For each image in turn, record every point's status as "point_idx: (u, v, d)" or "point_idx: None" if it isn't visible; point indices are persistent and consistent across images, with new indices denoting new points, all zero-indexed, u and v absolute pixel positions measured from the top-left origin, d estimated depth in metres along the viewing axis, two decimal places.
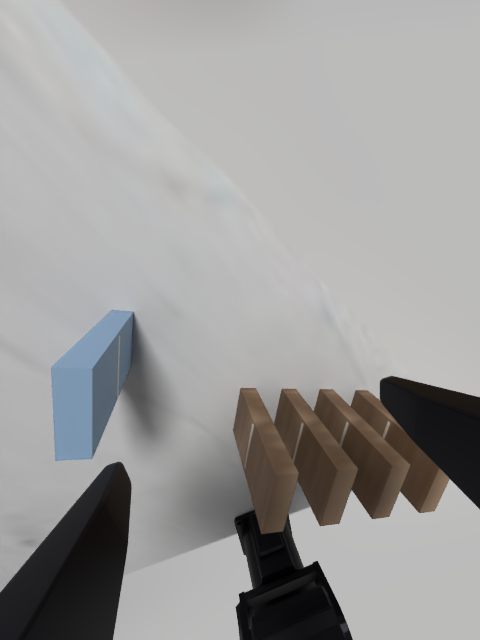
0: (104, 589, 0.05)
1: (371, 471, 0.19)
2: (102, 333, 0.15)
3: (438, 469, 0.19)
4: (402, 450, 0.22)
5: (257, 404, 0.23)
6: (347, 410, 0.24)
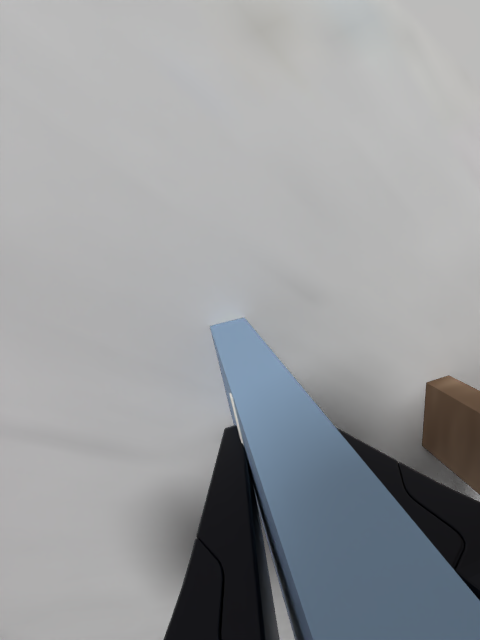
0: (260, 529, 0.06)
1: None
2: (263, 387, 0.06)
3: None
4: None
5: None
6: None
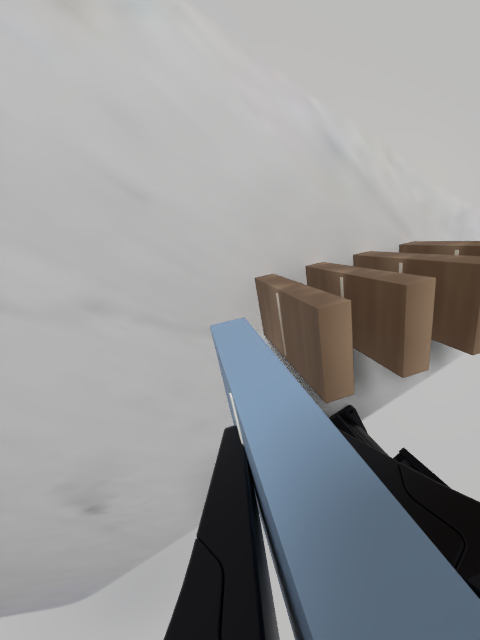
0: (260, 529, 0.06)
1: (453, 296, 0.14)
2: (264, 387, 0.06)
3: None
4: None
5: (278, 280, 0.18)
6: (396, 255, 0.18)
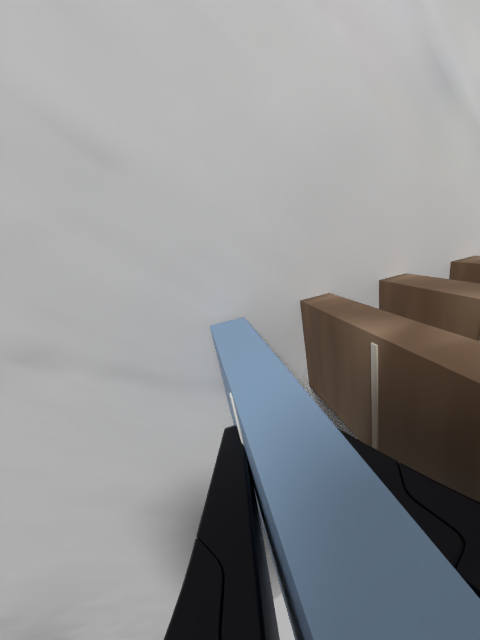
0: (260, 529, 0.06)
1: None
2: (264, 387, 0.06)
3: None
4: None
5: (353, 309, 0.10)
6: None
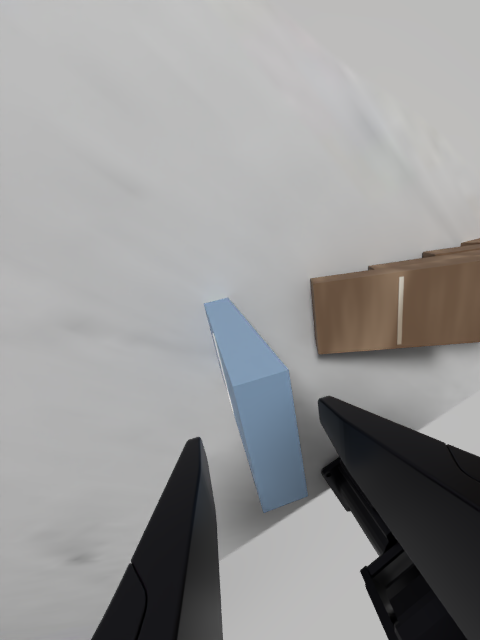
0: (211, 548, 0.06)
1: None
2: (230, 326, 0.11)
3: None
4: None
5: (355, 274, 0.16)
6: None
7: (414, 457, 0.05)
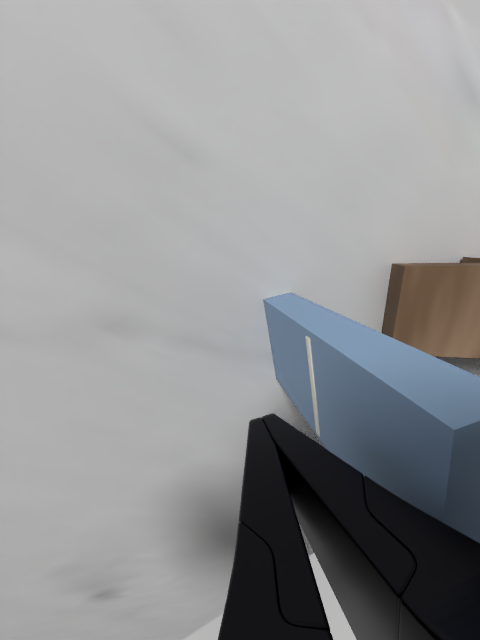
0: None
1: None
2: (335, 328, 0.08)
3: None
4: None
5: (451, 264, 0.13)
6: None
7: (327, 490, 0.05)
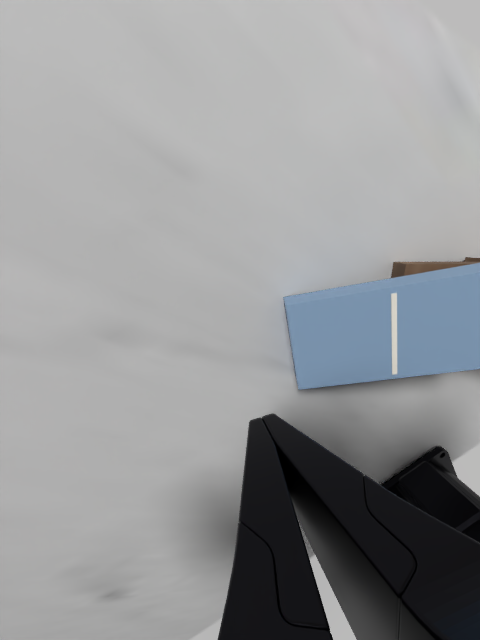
0: None
1: None
2: (396, 281, 0.12)
3: None
4: None
5: (452, 262, 0.14)
6: None
7: (327, 490, 0.05)
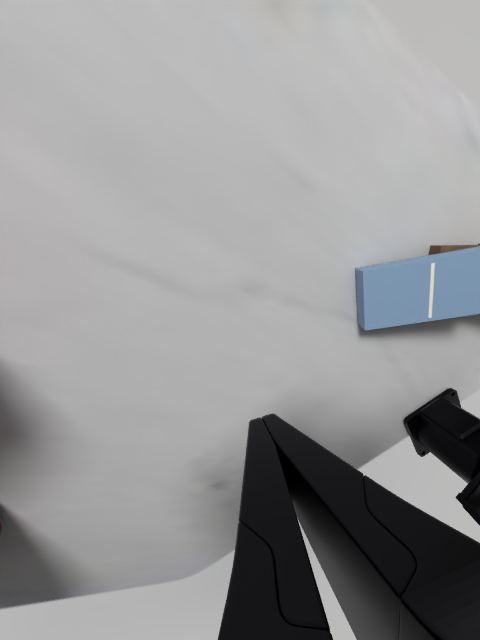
0: None
1: None
2: (433, 256, 0.19)
3: None
4: None
5: None
6: None
7: (327, 490, 0.05)
